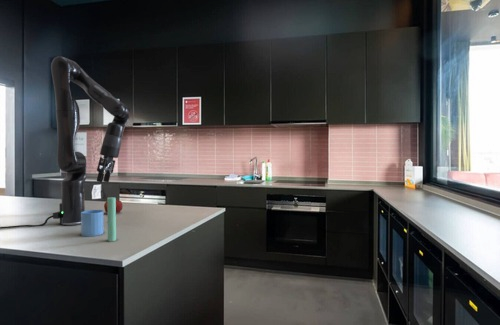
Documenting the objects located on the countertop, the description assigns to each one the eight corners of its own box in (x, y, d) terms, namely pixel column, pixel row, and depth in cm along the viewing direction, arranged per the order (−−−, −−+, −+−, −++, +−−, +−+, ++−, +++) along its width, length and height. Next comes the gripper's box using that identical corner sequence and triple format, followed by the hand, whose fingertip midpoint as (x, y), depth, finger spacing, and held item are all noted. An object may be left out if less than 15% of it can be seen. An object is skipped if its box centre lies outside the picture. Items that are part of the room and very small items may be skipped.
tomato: (102, 213, 168) (102, 198, 168) (120, 211, 174) (119, 196, 174) (106, 215, 161) (106, 200, 161) (124, 213, 167) (124, 198, 166)
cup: (76, 236, 122) (76, 213, 121) (89, 231, 130) (89, 209, 129) (95, 236, 121) (95, 213, 120) (107, 231, 129) (107, 210, 128)
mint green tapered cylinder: (106, 241, 114) (105, 198, 114) (110, 239, 117) (110, 197, 117) (113, 241, 114) (112, 198, 114) (117, 239, 117) (117, 197, 116)
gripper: (107, 146, 144) (99, 180, 143) (96, 142, 130) (87, 180, 129) (124, 149, 145) (116, 183, 144) (115, 145, 131) (106, 183, 130)
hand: (102, 181), depth 136 cm, fingers open, 8 cm apart
